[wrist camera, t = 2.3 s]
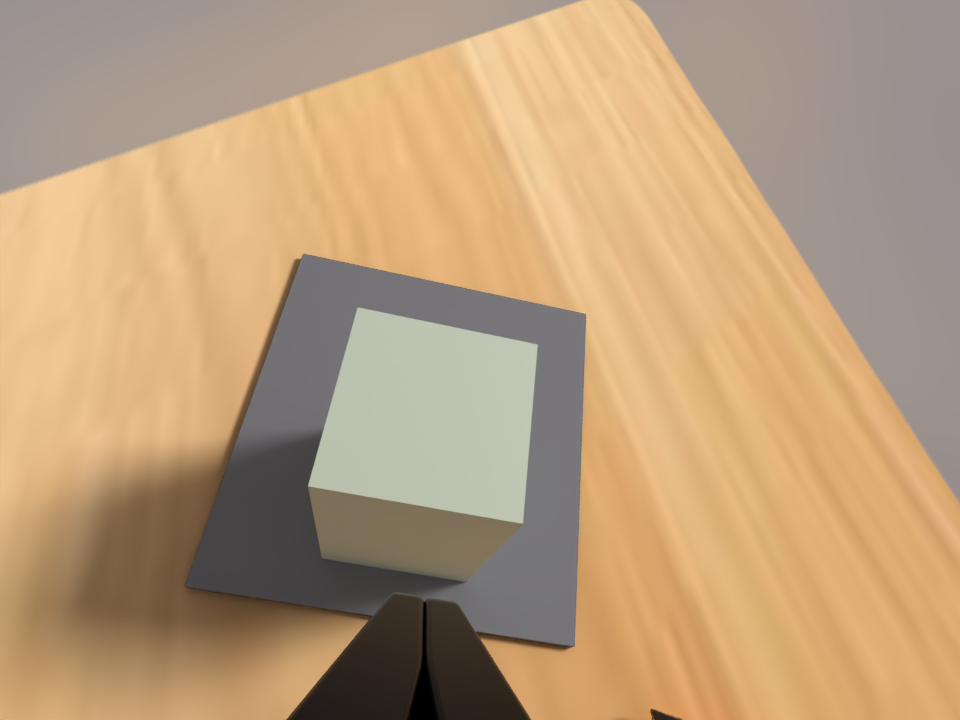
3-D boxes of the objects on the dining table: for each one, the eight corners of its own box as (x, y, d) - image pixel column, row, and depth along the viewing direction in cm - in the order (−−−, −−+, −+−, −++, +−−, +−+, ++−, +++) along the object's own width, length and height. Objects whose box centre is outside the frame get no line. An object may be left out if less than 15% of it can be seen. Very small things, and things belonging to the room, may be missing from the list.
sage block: (465, 581, 21) (522, 524, 14) (321, 558, 20) (308, 486, 13) (482, 448, 23) (537, 344, 16) (355, 425, 23) (357, 307, 16)
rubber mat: (571, 646, 21) (574, 646, 20) (186, 587, 19) (184, 586, 19) (583, 317, 28) (585, 314, 28) (303, 257, 27) (303, 253, 26)
